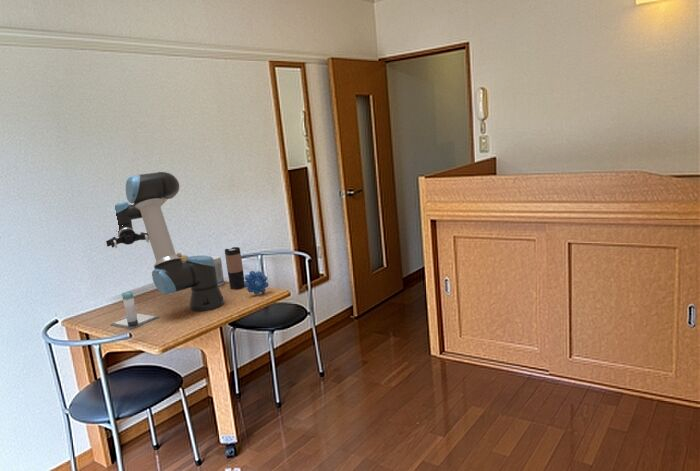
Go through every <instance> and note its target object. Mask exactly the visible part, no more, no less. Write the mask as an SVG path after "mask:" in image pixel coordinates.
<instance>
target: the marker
mask: <svg viewBox="0 0 700 471" xmlns="http://www.w3.org/2000/svg"><path fill="white" fill-rule="evenodd" d="M121 297H122V300H123V305H124V311H125V317H127V323H128V326H135V325H137V324H138V320H137V311H136V305H135V299H134V292H133V291H132V290H131V291H124V292H122V293H121Z"/></svg>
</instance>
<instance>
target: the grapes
mask: <svg viewBox="0 0 700 471" xmlns="http://www.w3.org/2000/svg"><path fill="white" fill-rule="evenodd" d="M244 285H245V287H246V288H247V291H248V293H253V294H254V295H256V296H258V295H260V293H261V294H264V293H266V291H267V290H266V289H267V288H268V287H269V283H268V278H267V276H266V275H263V273H262V272H261V271H259V270H257V271H254V270H251V271H249V274H246V275H244Z"/></svg>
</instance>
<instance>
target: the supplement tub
mask: <svg viewBox="0 0 700 471" xmlns="http://www.w3.org/2000/svg"><path fill="white" fill-rule="evenodd" d="M209 256H210V257H212V258H213V260H214V264H215V270H216V277H217V284H218V287H221V286H223V285H224V284H225V279H224V271H223V270H224V269H223V265H222V264H223V262H222V258H221V256H220V255H209Z"/></svg>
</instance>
